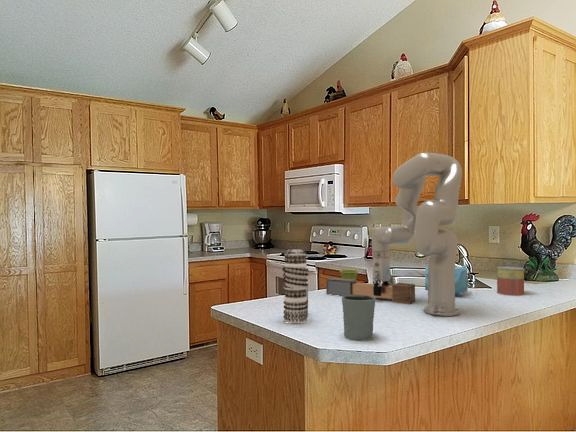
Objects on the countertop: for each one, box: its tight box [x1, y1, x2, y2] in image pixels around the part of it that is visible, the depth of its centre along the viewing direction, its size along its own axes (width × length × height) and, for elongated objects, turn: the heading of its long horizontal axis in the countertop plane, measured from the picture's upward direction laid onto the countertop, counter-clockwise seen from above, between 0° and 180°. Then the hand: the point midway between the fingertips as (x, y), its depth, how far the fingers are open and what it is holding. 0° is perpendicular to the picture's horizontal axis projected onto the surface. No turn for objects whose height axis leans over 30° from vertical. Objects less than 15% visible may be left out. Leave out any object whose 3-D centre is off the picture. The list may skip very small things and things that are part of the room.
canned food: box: [496, 265, 525, 297], centre depth 196 cm, size 11×11×12 cm
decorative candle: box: [282, 248, 309, 324], centre depth 147 cm, size 9×9×25 cm
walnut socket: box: [391, 282, 416, 305], centre depth 179 cm, size 7×8×7 cm
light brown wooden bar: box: [351, 282, 392, 300], centre depth 186 cm, size 4×26×5 cm, turn 57°
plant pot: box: [339, 269, 359, 279], centre depth 212 cm, size 9×9×9 cm
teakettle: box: [424, 263, 469, 297], centre depth 194 cm, size 19×19×15 cm
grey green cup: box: [341, 295, 377, 341], centre depth 129 cm, size 10×10×12 cm
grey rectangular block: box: [325, 276, 358, 297], centre depth 195 cm, size 7×12×7 cm, turn 57°
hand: (381, 293), depth 184 cm, fingers open, 9 cm apart
